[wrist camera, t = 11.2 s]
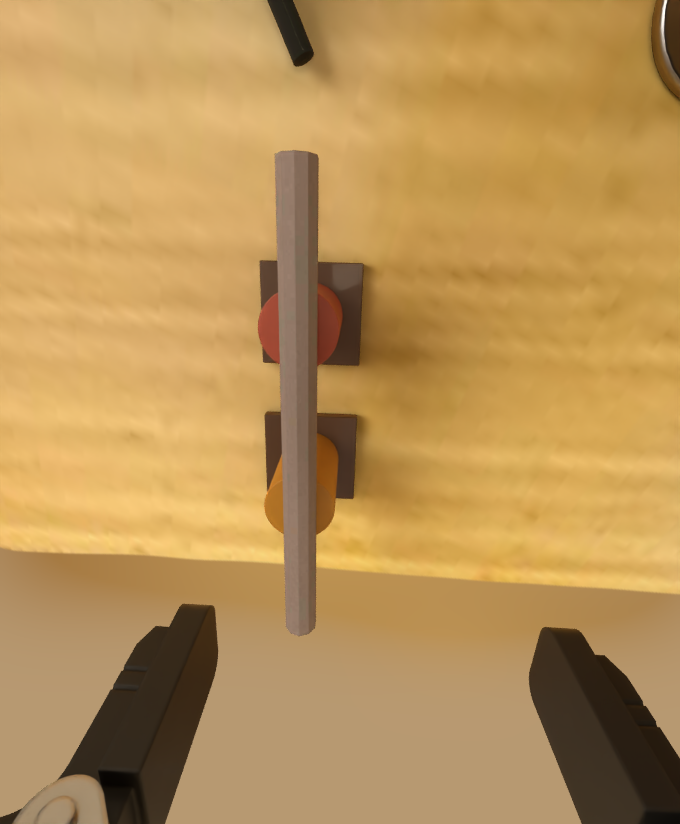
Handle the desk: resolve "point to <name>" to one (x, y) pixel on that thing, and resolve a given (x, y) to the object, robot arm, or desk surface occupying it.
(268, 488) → the ochre post
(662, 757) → the robot arm
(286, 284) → the metal rod
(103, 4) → the desk surface
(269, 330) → the red peg stand
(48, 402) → the desk surface
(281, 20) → the handheld radio
